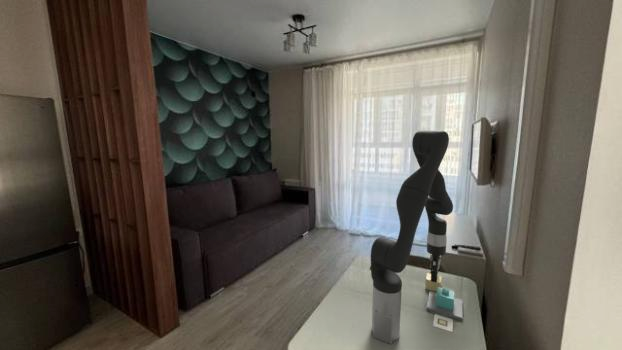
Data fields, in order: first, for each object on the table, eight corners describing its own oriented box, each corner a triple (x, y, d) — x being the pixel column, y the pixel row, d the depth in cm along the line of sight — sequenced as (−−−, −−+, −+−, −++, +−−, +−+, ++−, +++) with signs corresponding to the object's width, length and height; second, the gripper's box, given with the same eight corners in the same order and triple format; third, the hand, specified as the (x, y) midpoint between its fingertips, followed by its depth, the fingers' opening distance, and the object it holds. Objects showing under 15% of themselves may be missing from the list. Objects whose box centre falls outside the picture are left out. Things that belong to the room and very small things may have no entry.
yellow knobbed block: (440, 292, 109) (441, 280, 108) (425, 288, 112) (425, 277, 111) (441, 285, 114) (442, 274, 113) (426, 281, 117) (427, 270, 116)
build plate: (462, 320, 92) (462, 315, 92) (426, 310, 98) (426, 304, 98) (462, 302, 102) (462, 297, 102) (429, 293, 108) (429, 288, 108)
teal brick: (453, 310, 96) (454, 297, 95) (435, 305, 99) (436, 292, 98) (453, 301, 101) (454, 288, 100) (436, 297, 104) (437, 284, 103)
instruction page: (452, 332, 87) (452, 331, 87) (433, 326, 90) (433, 325, 90) (452, 319, 93) (452, 319, 93) (434, 314, 96) (434, 313, 96)
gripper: (445, 250, 102) (443, 287, 104) (447, 238, 114) (445, 271, 116) (425, 246, 106) (423, 282, 108) (428, 235, 118) (427, 267, 120)
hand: (434, 276), depth 112 cm, fingers open, 8 cm apart
